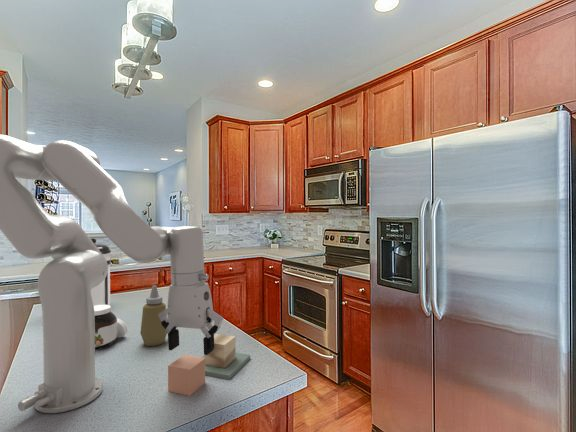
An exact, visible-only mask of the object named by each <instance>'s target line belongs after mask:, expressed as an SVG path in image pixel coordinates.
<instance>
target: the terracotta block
mask: <svg viewBox="0 0 576 432" xmlns="http://www.w3.org/2000/svg"><path fill="white" fill-rule="evenodd" d="M205 383H206V375H205V358H202V357H200V356H194V355H189V354H182V355H181V356H180V357H178V358H177V359H175V361H173V362H171V363H170V364H168V365H167V391H168V392H171V393H175V394H180V395H183V396H185V395H186V396H189V397H190V396H192V395H193V394H194V393H195V392H196V391H197V390H199V388H201V387H202V386H203V385H205Z"/></svg>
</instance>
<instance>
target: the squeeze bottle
mask: <svg viewBox="0 0 576 432" xmlns="http://www.w3.org/2000/svg"><path fill="white" fill-rule="evenodd" d="M145 302H146V304H144V305H143V306H142V315H141V323H140V325H141V326H140V332H139V333H140V336H141V339H142V341H143V344H144V345H145V346H147V347H156V346H159V345H162V344H163V343H165V341H166V338H167V336H168V334H167V333H166V332H165V328H164V327H163V326H162V324H161V321H160V318H159V316H158V314H159V313H160V312H162V311H164V310H166V309H167V305H166V304H165V303H164V302H163V296H162V295H159V291H158V287H157V284H156V285H154V284H153V285H152V286H151V291H150V294H149V296H147V297H146V300H145Z"/></svg>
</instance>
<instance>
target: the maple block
mask: <svg viewBox="0 0 576 432" xmlns="http://www.w3.org/2000/svg"><path fill="white" fill-rule="evenodd" d="M235 353H236V336H234V335H227V334H222V333H221V334H220V333H215V334H214V350H213V351H212V352H210V353H209V354H208V355H205V354H204V353H203V355H204V358H205V365H210V366H216V367H221V368H225V367H226V366H227V365H228V364H229V363H231V362H232V361H233V360H234V359H235Z"/></svg>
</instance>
